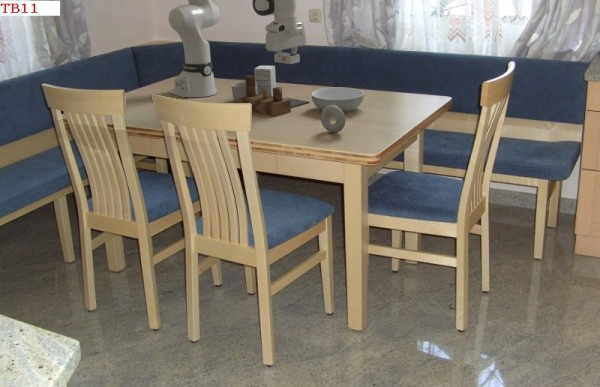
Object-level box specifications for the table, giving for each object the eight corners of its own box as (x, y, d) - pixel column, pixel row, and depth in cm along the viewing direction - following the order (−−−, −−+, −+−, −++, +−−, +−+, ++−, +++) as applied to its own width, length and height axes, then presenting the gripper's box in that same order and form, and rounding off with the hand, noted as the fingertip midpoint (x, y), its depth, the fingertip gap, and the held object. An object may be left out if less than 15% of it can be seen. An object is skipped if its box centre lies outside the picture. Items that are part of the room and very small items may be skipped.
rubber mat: (268, 104, 305) (268, 103, 305) (287, 99, 314) (287, 97, 313) (289, 108, 298) (289, 107, 298) (309, 103, 306) (309, 101, 306)
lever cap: (274, 61, 301) (274, 52, 299) (283, 59, 304) (283, 50, 303) (291, 64, 295) (290, 54, 294) (300, 62, 299) (300, 52, 297)
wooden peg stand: (239, 109, 299) (237, 77, 295) (255, 105, 306) (253, 73, 301) (275, 116, 287) (273, 83, 282) (290, 111, 293) (289, 79, 288)
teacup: (254, 105, 305) (253, 86, 302) (229, 105, 307) (227, 85, 304) (262, 97, 318) (261, 79, 315) (238, 97, 320) (237, 79, 317)
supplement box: (260, 93, 325) (259, 65, 321) (276, 94, 323) (275, 65, 319) (255, 97, 318) (253, 68, 314) (271, 98, 316) (270, 68, 312)
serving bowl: (304, 114, 288) (303, 97, 286) (321, 102, 307) (321, 86, 304) (355, 118, 281) (355, 100, 279) (370, 105, 300) (370, 88, 297)
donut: (319, 131, 264) (318, 104, 261) (324, 129, 267) (324, 102, 263) (341, 136, 258) (341, 108, 255) (347, 133, 261) (347, 105, 257)
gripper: (297, 21, 304) (298, 55, 309) (262, 27, 290) (263, 62, 294) (309, 22, 300) (309, 56, 305) (273, 28, 286) (275, 64, 290)
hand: (287, 59), depth 299 cm, fingers closed on lever cap, 5 cm apart
